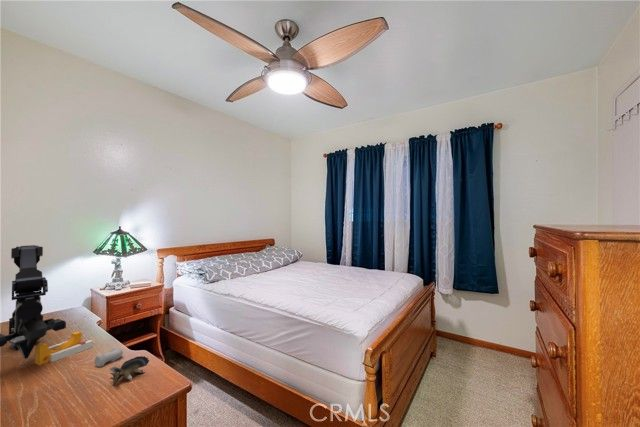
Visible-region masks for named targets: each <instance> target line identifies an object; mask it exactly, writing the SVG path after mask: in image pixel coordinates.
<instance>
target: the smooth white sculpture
mask: <svg viewBox="0 0 640 427" xmlns="http://www.w3.org/2000/svg"><path fill="white" fill-rule="evenodd" d="M123 353H124V351H123V349H121V348H112V349H111V350H109V351H107V352H106V353H104V354H103V353H99V354H97V356H96V357H95V358H94V362H93V363H94V366H96V367H99V368H101V367H103V366H104V365H105V364H106V363H108V362H115V361H116V360H117V359H119V358H121V357H122V355H123Z"/></svg>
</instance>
